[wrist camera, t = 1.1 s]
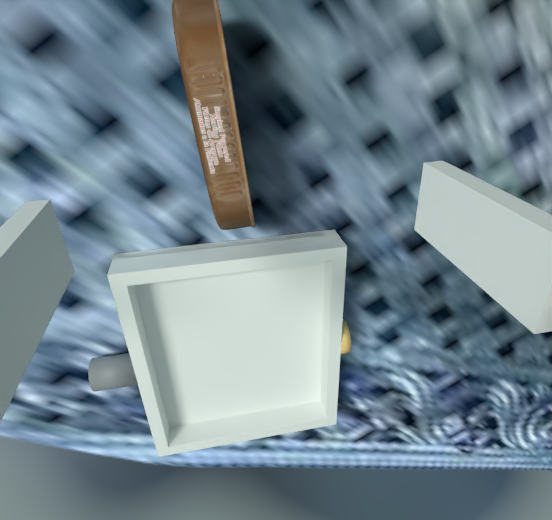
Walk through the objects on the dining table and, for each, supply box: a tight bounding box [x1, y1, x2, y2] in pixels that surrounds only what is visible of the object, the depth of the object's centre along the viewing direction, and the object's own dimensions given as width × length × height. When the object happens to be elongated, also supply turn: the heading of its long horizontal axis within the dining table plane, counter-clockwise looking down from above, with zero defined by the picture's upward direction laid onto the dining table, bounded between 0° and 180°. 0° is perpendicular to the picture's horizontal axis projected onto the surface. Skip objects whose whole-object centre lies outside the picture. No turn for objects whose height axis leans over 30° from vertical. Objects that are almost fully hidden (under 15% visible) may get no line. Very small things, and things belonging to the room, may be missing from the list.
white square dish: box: [89, 229, 351, 457], centre depth 39 cm, size 24×22×4 cm
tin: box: [172, 0, 255, 230], centre depth 27 cm, size 15×3×8 cm, turn 7°
